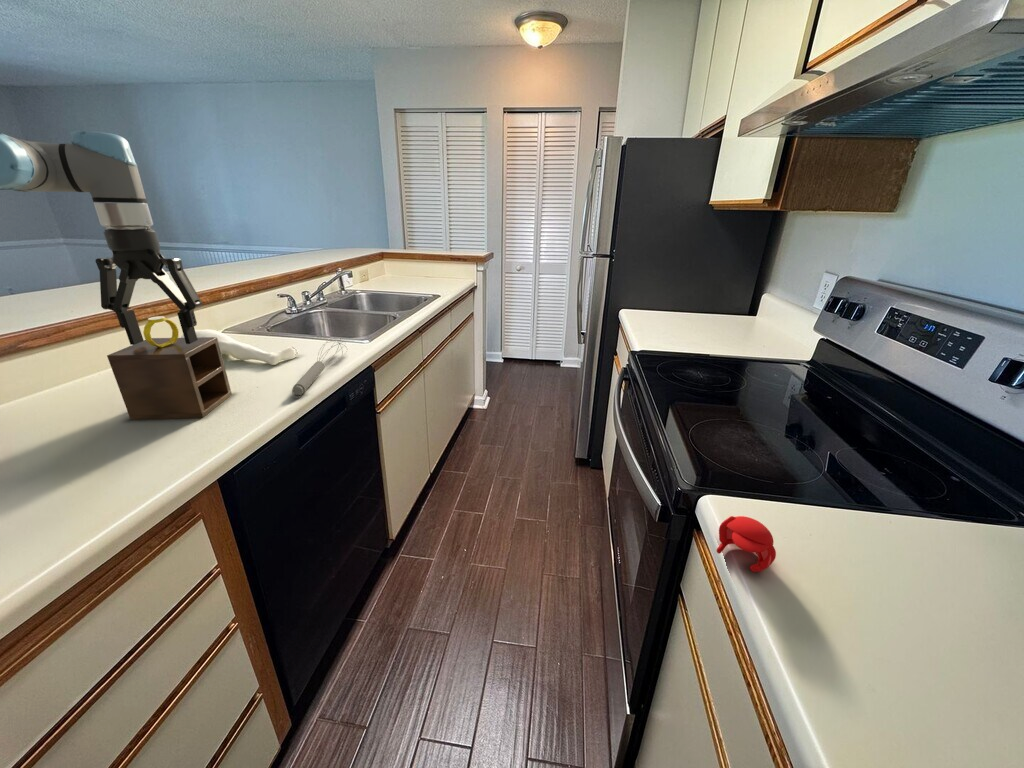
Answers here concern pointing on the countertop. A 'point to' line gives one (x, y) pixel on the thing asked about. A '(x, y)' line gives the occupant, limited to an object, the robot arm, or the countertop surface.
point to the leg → (247, 349)
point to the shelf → (171, 378)
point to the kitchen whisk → (313, 373)
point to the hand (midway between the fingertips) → (164, 342)
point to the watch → (156, 320)
